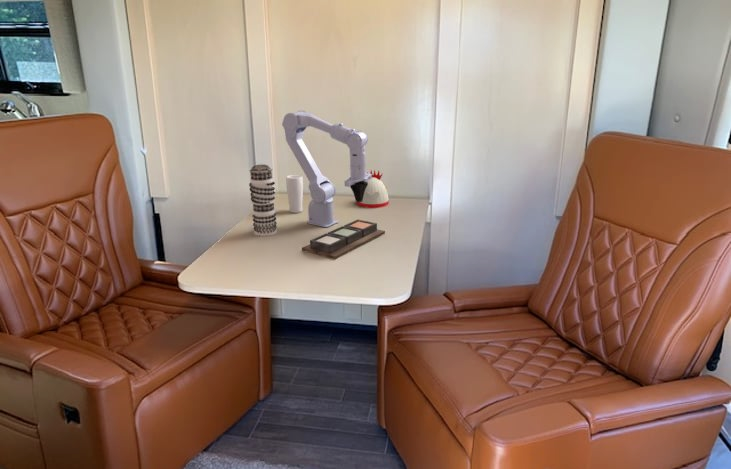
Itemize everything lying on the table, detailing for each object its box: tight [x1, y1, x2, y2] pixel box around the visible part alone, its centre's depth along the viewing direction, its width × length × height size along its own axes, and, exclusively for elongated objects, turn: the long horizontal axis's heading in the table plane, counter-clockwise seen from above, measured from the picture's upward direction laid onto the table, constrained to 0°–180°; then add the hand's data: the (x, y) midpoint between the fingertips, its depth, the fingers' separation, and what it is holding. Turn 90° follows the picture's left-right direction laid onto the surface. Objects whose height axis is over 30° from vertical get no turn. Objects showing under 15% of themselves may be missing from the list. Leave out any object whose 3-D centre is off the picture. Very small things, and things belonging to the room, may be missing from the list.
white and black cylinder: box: [248, 164, 278, 237], centre depth 190 cm, size 9×9×25 cm
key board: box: [301, 219, 386, 260], centre depth 183 cm, size 14×30×4 cm, turn 146°
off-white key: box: [316, 236, 340, 244], centre depth 176 cm, size 6×6×2 cm
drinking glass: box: [285, 174, 304, 214], centre depth 216 cm, size 7×7×15 cm
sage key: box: [334, 228, 357, 236], centre depth 183 cm, size 6×6×2 cm
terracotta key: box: [350, 222, 372, 229], centre depth 190 cm, size 6×6×2 cm
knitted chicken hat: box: [356, 169, 390, 209], centre depth 227 cm, size 14×14×15 cm
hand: (359, 201), depth 195 cm, fingers closed
